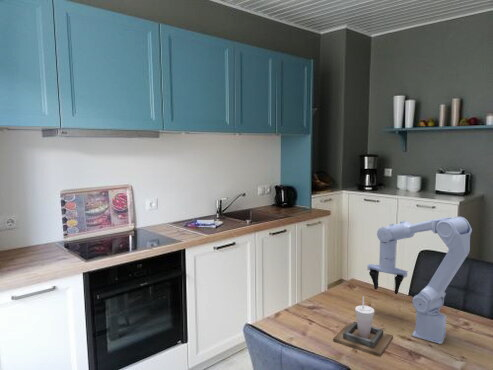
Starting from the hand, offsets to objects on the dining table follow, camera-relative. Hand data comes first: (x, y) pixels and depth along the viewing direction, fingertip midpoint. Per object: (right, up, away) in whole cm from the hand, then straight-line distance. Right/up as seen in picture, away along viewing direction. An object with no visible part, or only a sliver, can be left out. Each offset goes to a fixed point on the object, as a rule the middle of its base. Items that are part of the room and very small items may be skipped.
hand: (386, 290), depth 144 cm
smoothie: (-13, -12, -15) cm, 23 cm away
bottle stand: (-14, -12, -16) cm, 24 cm away
